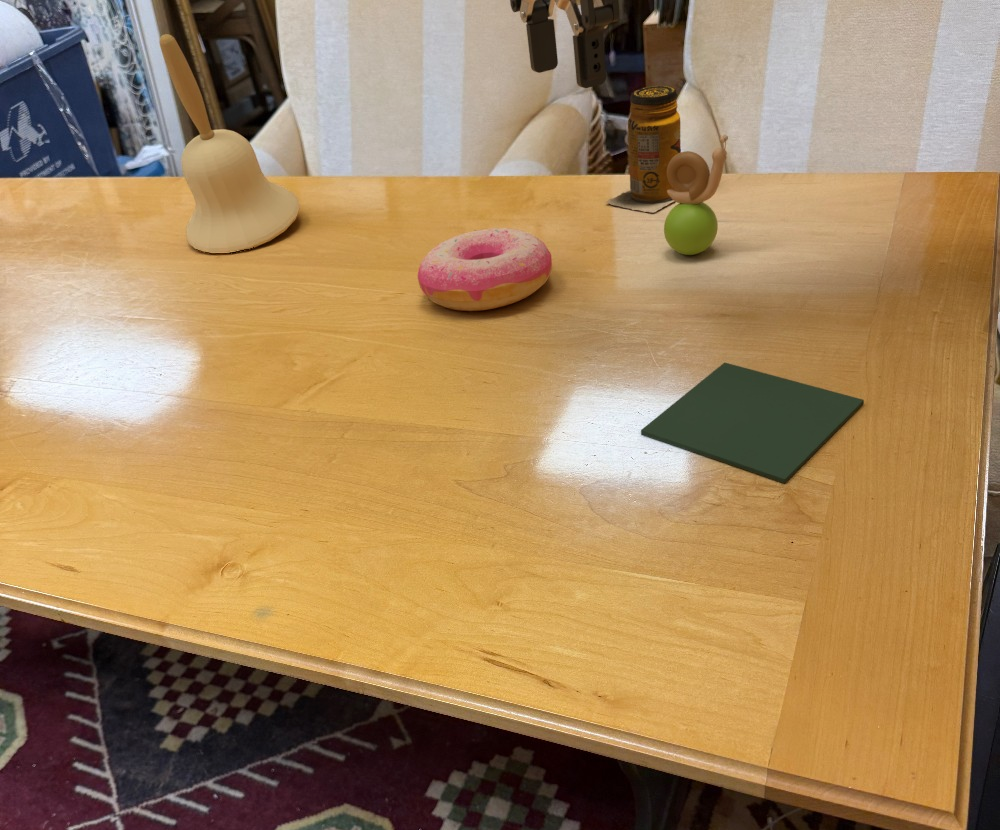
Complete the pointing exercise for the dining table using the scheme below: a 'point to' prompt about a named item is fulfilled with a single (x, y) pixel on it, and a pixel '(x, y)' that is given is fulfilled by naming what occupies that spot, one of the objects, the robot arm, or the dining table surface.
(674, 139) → the condiment
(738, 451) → the mat
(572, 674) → the dining table surface
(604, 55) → the robot arm
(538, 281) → the donut
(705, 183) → the snail figurine
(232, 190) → the handbell
